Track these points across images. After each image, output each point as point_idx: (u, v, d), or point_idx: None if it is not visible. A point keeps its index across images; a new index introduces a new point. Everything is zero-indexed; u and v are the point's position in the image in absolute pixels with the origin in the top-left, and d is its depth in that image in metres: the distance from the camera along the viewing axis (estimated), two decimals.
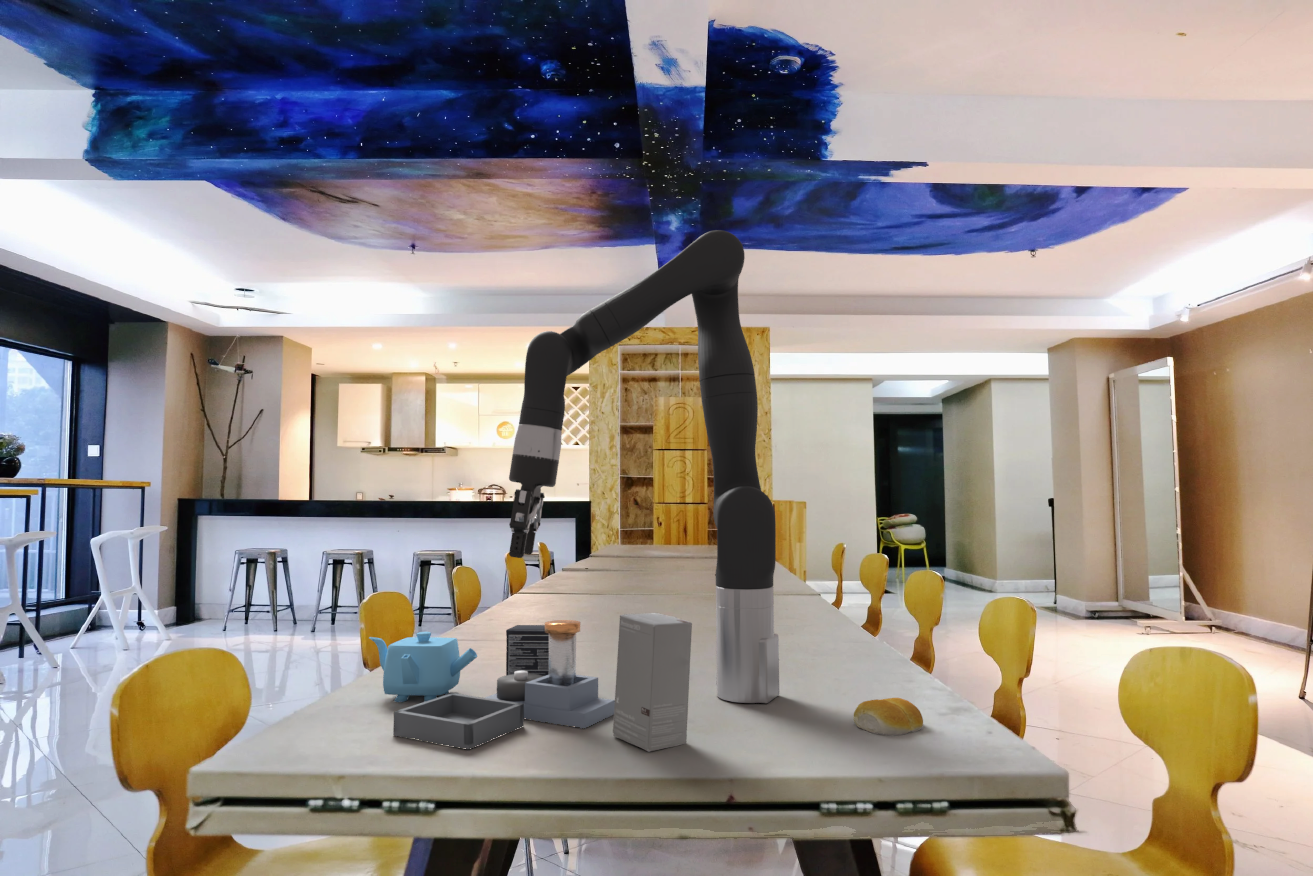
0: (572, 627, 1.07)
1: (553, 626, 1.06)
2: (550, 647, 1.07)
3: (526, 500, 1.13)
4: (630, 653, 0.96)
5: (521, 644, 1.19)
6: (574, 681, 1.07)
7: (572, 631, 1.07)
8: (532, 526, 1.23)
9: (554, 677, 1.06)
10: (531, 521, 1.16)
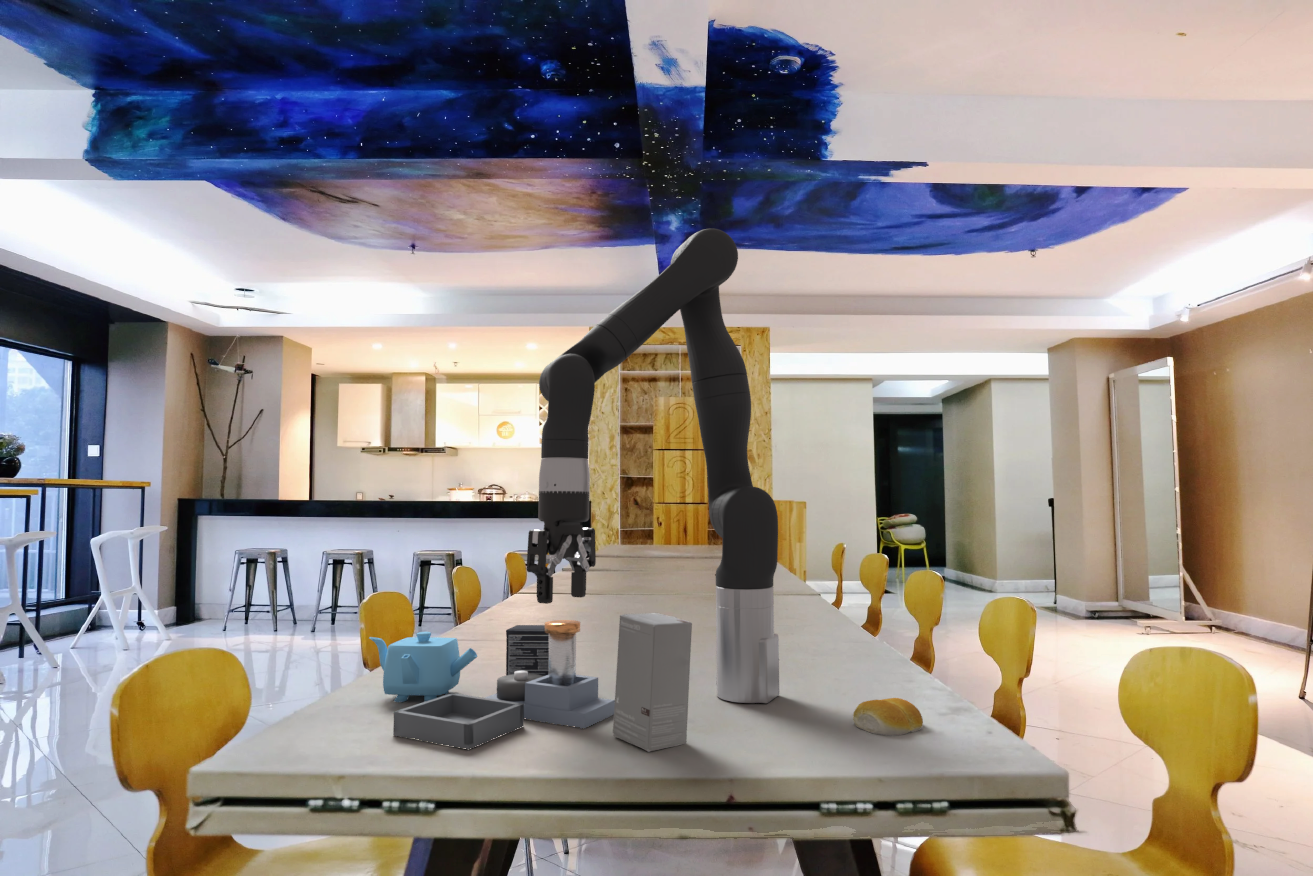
0: (572, 627, 1.07)
1: (553, 626, 1.06)
2: (550, 647, 1.07)
3: (539, 540, 1.03)
4: (630, 653, 0.96)
5: (521, 644, 1.19)
6: (574, 681, 1.07)
7: (572, 631, 1.07)
8: (581, 566, 1.13)
9: (554, 677, 1.06)
10: (556, 562, 1.06)
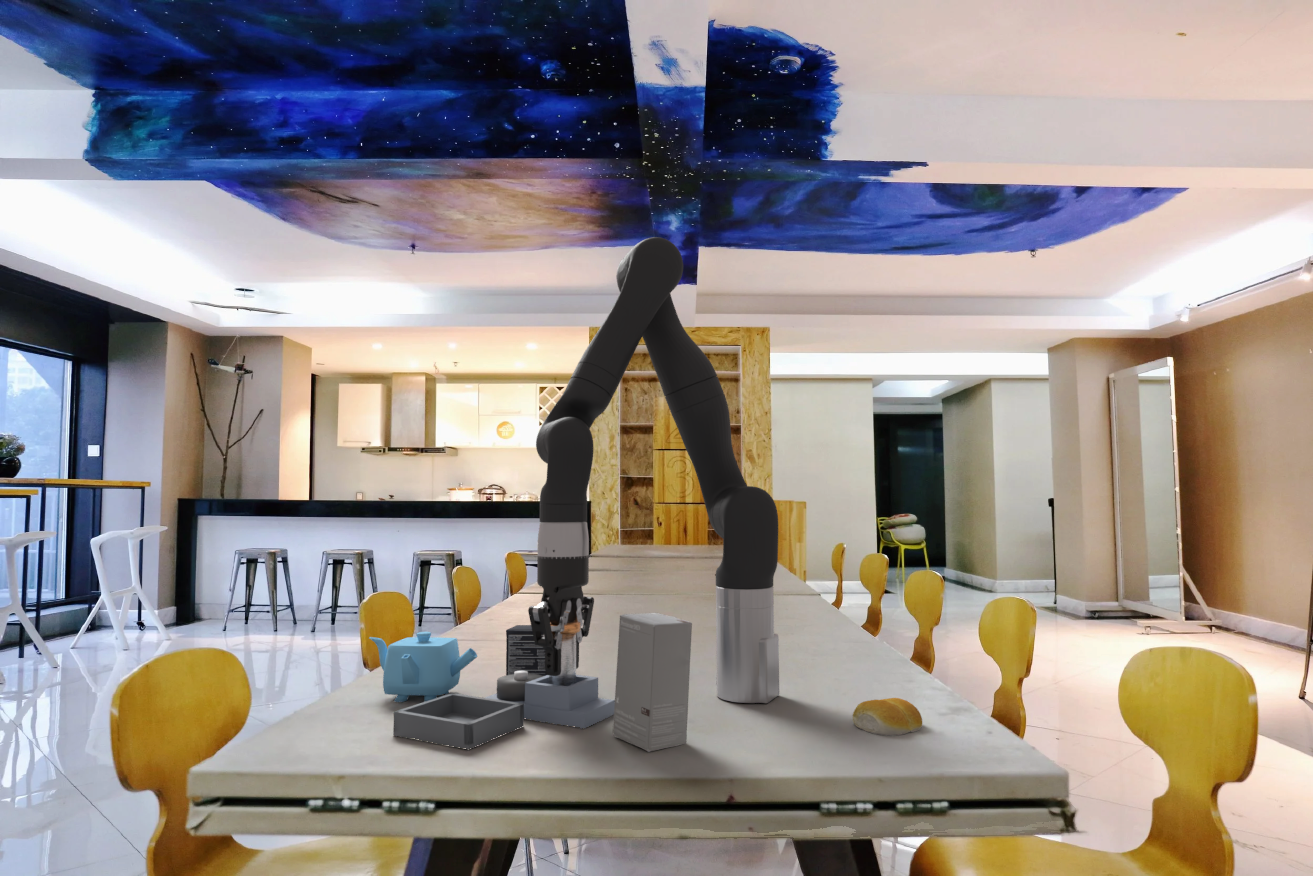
0: (572, 627, 1.07)
1: None
2: None
3: (540, 619, 1.03)
4: (630, 653, 0.96)
5: (521, 644, 1.19)
6: (574, 681, 1.07)
7: (572, 631, 1.07)
8: None
9: (554, 677, 1.06)
10: None
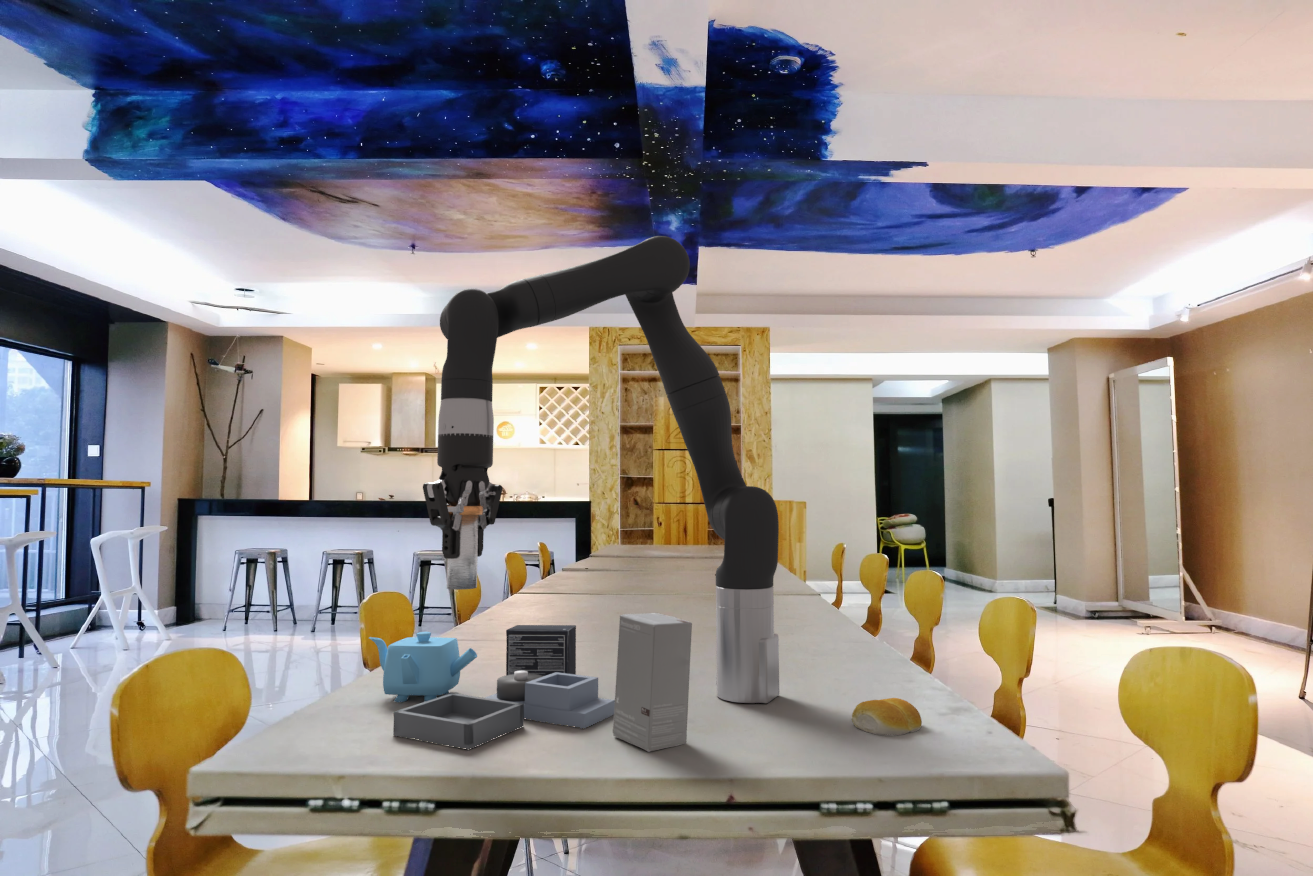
0: (472, 508, 1.01)
1: None
2: None
3: (434, 495, 0.97)
4: (630, 653, 0.96)
5: (521, 644, 1.19)
6: (474, 566, 1.01)
7: (472, 512, 1.01)
8: None
9: (452, 561, 1.00)
10: None
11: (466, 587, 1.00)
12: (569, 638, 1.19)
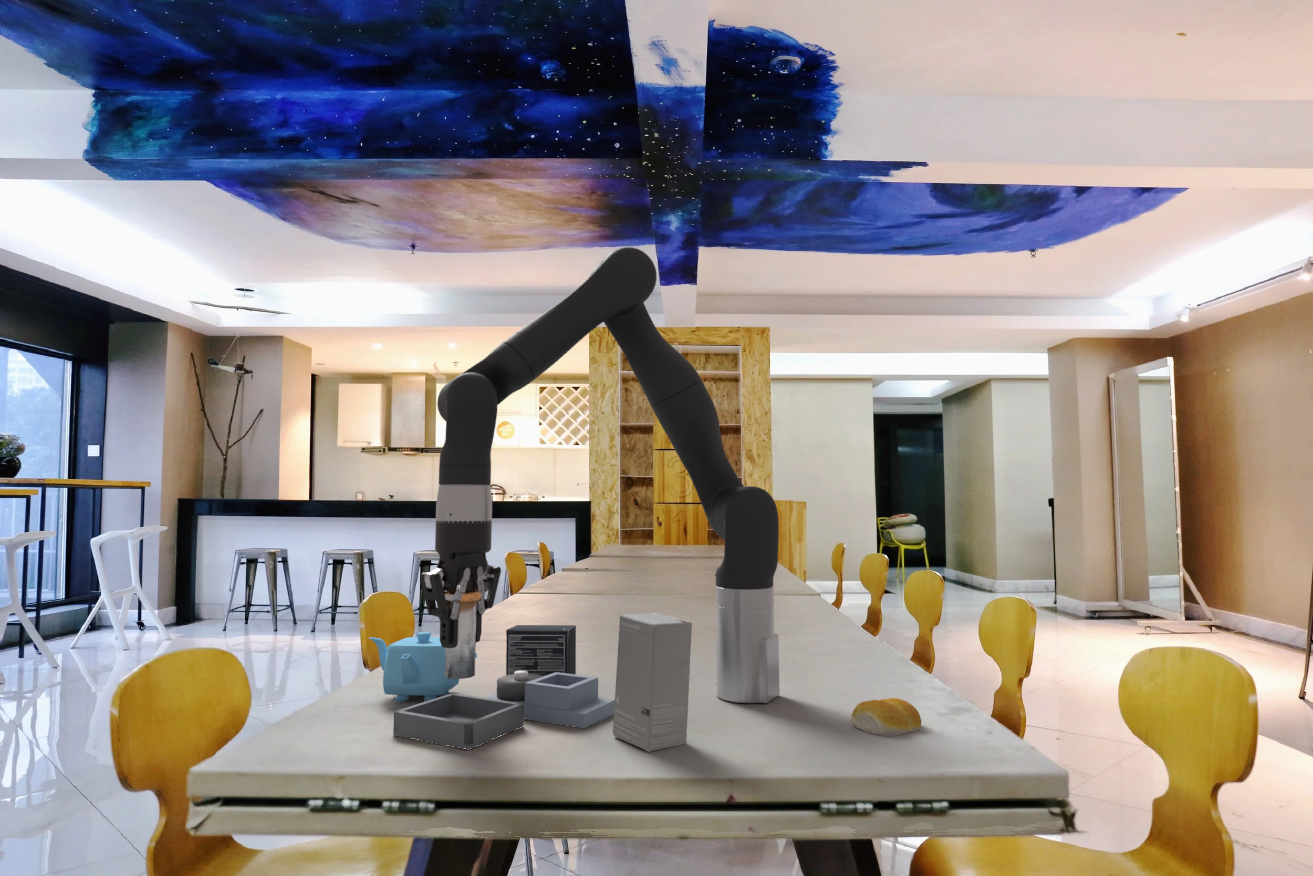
0: (470, 596, 1.00)
1: None
2: None
3: (432, 586, 0.96)
4: (630, 653, 0.96)
5: (521, 644, 1.19)
6: (472, 654, 1.00)
7: (470, 600, 1.00)
8: None
9: (450, 649, 0.99)
10: (458, 601, 0.99)
11: (464, 676, 0.99)
12: (569, 638, 1.19)
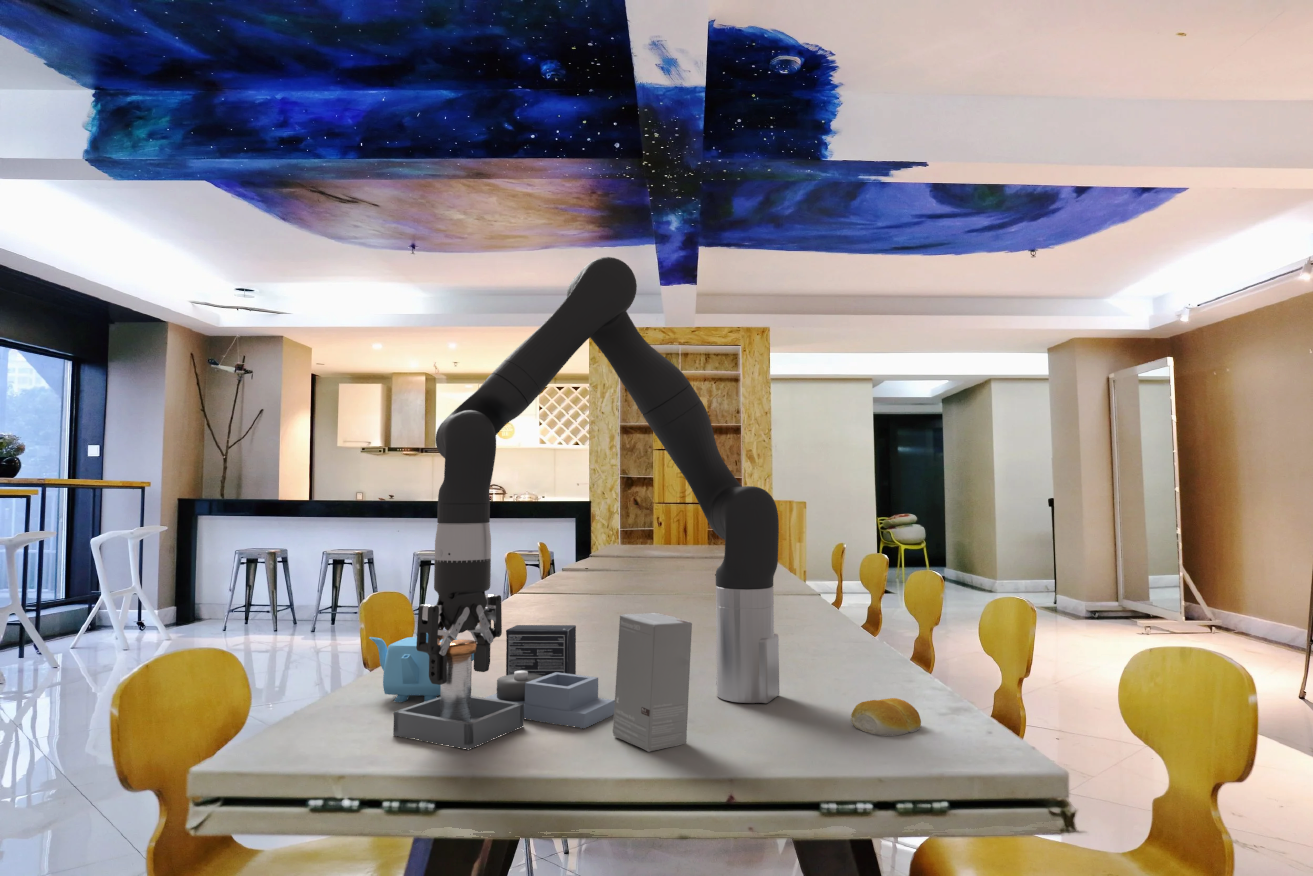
0: (465, 648, 0.98)
1: None
2: None
3: (428, 617, 0.95)
4: (630, 653, 0.96)
5: (521, 644, 1.19)
6: (468, 707, 0.99)
7: (465, 653, 0.98)
8: (484, 637, 1.05)
9: (445, 703, 0.98)
10: (451, 638, 0.98)
11: None
12: (569, 638, 1.19)
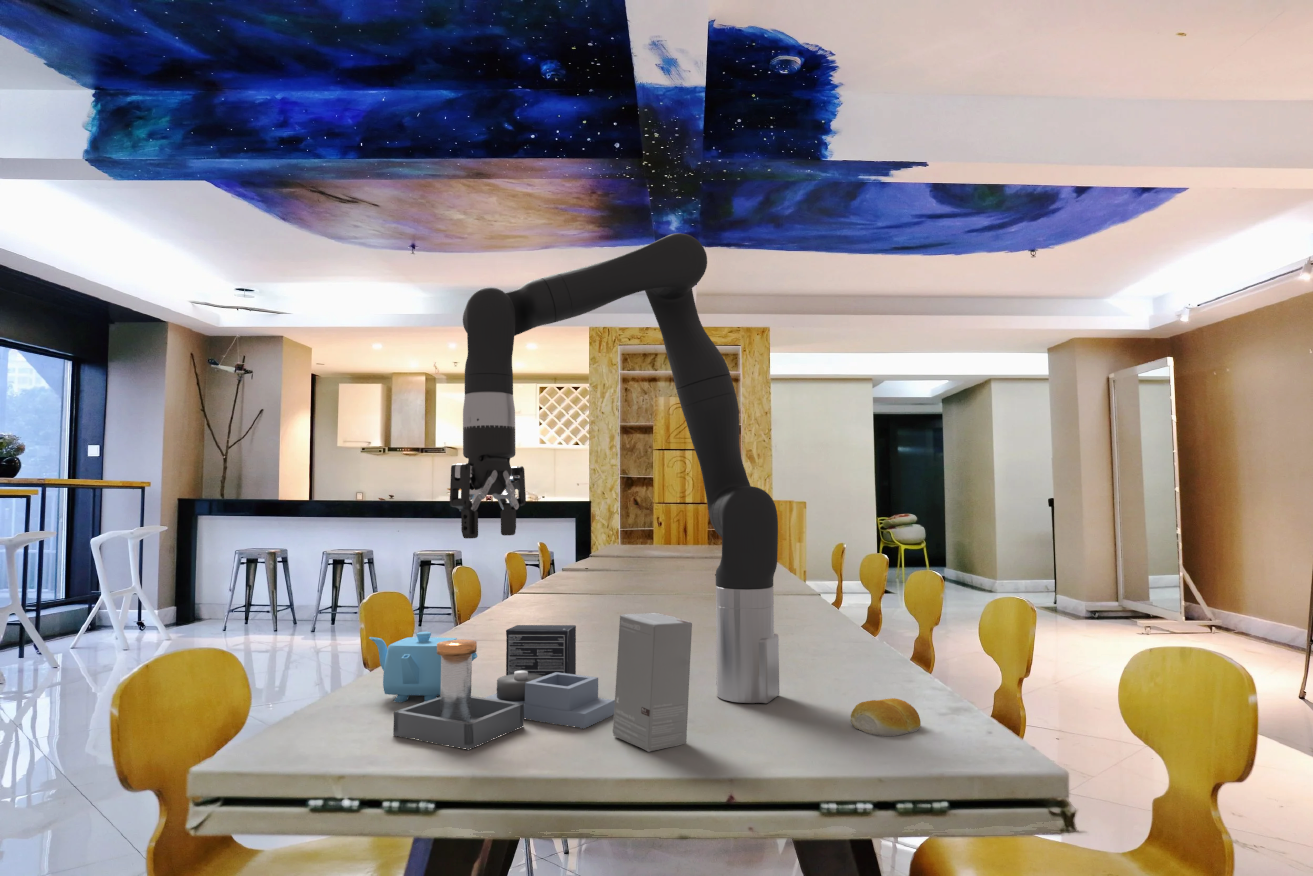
0: (465, 648, 0.98)
1: (444, 647, 0.98)
2: (442, 670, 0.99)
3: (461, 474, 1.02)
4: (630, 653, 0.96)
5: (521, 644, 1.19)
6: (468, 707, 0.99)
7: (465, 653, 0.98)
8: (510, 504, 1.12)
9: (445, 703, 0.98)
10: (481, 497, 1.04)
11: None
12: (569, 638, 1.19)
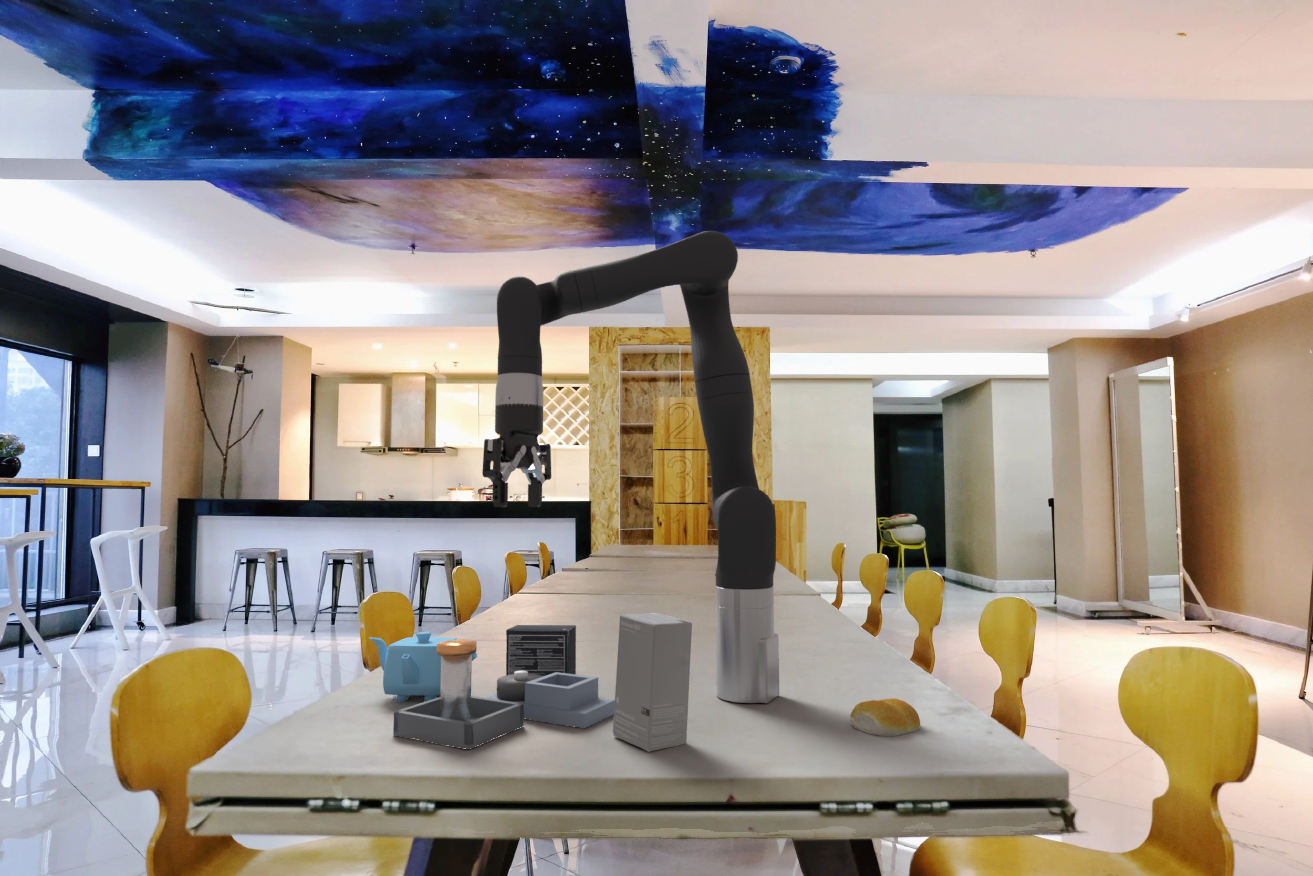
0: (465, 648, 0.98)
1: (444, 647, 0.98)
2: (442, 670, 0.99)
3: (493, 447, 1.11)
4: (630, 653, 0.96)
5: (521, 644, 1.19)
6: (468, 707, 0.99)
7: (465, 653, 0.98)
8: (536, 478, 1.20)
9: (445, 703, 0.98)
10: (511, 469, 1.13)
11: None
12: (569, 638, 1.19)
